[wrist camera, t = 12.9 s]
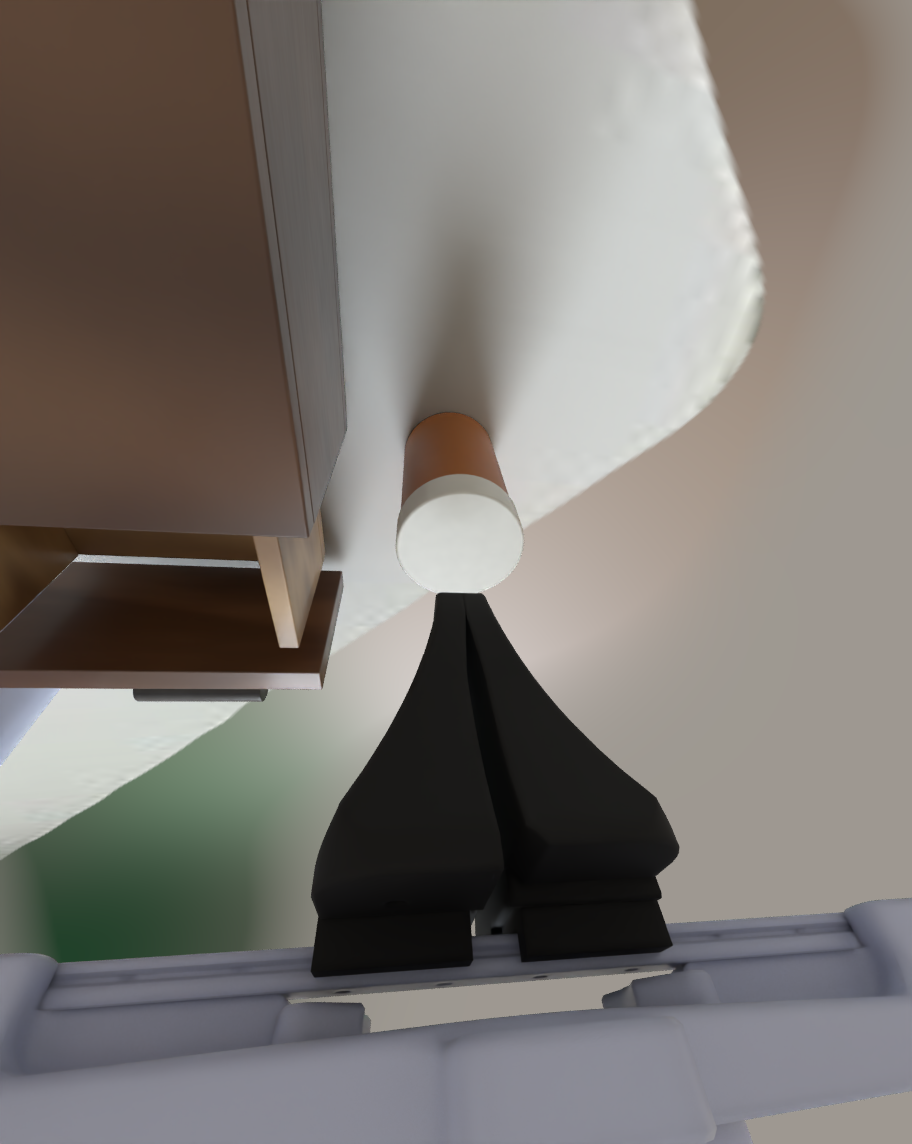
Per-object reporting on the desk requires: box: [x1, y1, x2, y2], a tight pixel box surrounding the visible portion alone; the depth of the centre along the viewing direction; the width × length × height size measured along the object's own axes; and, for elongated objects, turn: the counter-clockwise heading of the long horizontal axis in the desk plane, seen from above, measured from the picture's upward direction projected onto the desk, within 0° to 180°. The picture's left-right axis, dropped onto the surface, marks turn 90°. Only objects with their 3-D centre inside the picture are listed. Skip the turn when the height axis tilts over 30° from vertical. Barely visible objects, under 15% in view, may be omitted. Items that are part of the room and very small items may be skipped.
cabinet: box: [0, 0, 347, 538], centre depth 11 cm, size 14×15×9 cm
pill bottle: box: [396, 412, 524, 593], centre depth 17 cm, size 4×4×8 cm
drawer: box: [0, 509, 343, 701], centre depth 18 cm, size 17×13×7 cm
